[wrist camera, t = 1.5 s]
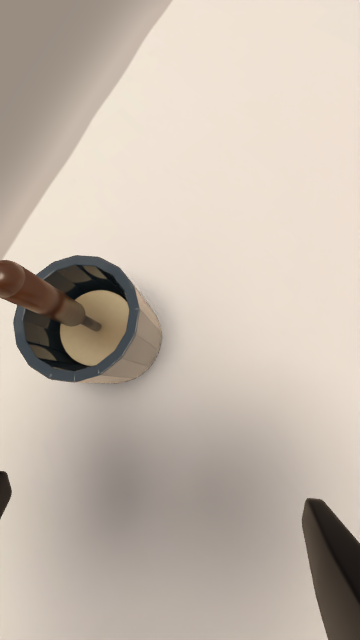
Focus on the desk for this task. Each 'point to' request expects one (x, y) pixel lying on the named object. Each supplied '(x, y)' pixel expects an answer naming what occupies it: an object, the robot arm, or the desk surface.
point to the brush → (70, 313)
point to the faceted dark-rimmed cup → (44, 333)
